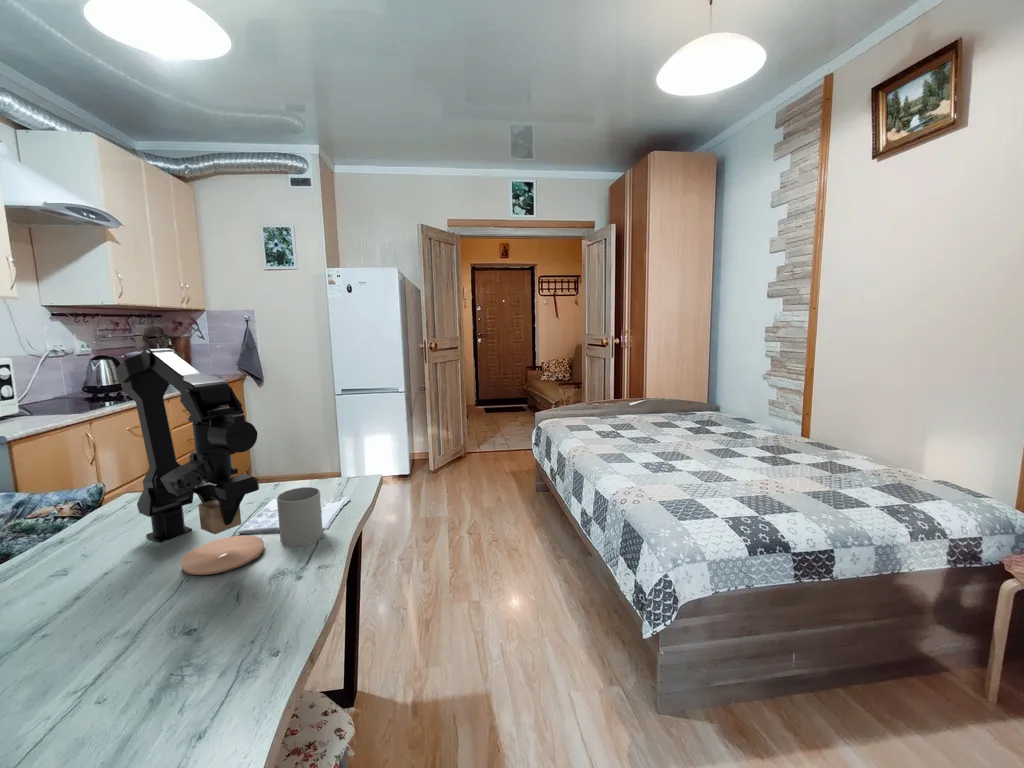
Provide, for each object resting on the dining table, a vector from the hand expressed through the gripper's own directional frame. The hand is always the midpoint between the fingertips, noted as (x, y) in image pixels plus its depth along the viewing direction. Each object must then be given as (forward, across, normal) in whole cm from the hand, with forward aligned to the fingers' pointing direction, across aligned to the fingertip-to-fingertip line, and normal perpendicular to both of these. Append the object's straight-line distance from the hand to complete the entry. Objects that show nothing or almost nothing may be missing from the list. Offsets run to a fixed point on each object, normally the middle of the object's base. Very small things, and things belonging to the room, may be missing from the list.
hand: (220, 521), depth 89 cm
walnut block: (+1, 0, 0) cm, 1 cm away
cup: (+8, +6, +13) cm, 17 cm away
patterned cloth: (+9, -5, +20) cm, 23 cm away
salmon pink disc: (+8, 0, 0) cm, 8 cm away
